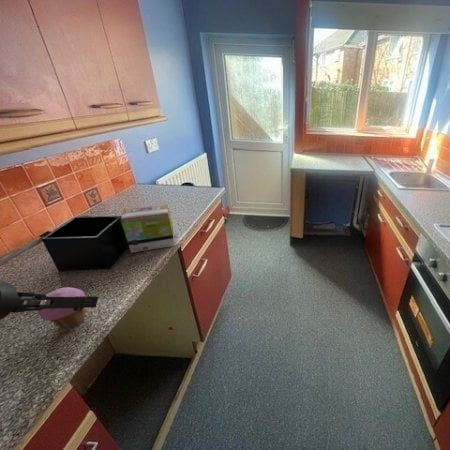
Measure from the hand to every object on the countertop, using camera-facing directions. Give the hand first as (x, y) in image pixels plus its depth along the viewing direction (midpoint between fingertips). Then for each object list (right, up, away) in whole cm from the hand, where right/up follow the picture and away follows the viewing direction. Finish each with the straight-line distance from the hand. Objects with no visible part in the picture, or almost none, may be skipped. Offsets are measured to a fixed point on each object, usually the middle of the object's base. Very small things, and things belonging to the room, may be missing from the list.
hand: (77, 301), depth 66 cm
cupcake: (0, -5, -1) cm, 5 cm away
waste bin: (-14, +9, +24) cm, 29 cm away
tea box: (+1, +13, +33) cm, 35 cm away
